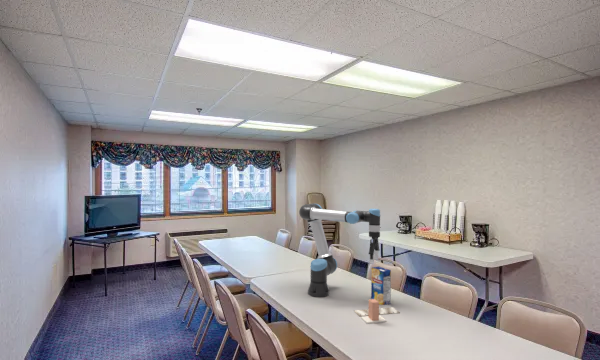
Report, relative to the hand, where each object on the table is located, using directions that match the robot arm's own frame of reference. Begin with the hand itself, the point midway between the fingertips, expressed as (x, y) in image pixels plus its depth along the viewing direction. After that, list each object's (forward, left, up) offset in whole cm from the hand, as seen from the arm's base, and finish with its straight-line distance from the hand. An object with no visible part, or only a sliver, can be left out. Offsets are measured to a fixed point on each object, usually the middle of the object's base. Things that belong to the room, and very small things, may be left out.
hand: (374, 262), depth 224 cm
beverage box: (+1, -8, -25) cm, 26 cm away
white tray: (-11, -31, -25) cm, 41 cm away
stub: (-18, -36, -24) cm, 47 cm away
